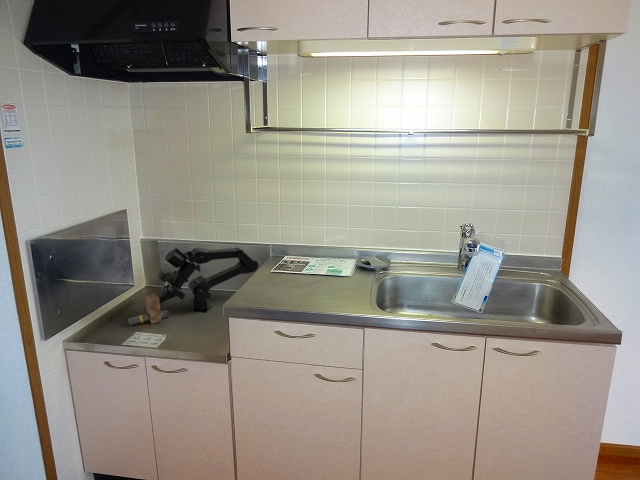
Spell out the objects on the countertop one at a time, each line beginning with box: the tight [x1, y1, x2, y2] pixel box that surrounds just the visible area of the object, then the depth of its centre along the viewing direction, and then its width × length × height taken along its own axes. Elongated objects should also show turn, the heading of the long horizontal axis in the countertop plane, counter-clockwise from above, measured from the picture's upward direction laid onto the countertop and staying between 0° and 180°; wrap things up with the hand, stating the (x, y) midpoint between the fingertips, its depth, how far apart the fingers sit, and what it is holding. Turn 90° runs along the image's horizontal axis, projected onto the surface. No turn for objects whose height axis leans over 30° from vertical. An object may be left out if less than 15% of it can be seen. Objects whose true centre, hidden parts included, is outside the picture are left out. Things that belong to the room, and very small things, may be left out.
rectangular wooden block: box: [144, 293, 162, 324], centre depth 199 cm, size 4×8×10 cm, turn 32°
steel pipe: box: [127, 309, 170, 326], centre depth 199 cm, size 16×3×3 cm, turn 122°
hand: (159, 302), depth 200 cm, fingers closed
